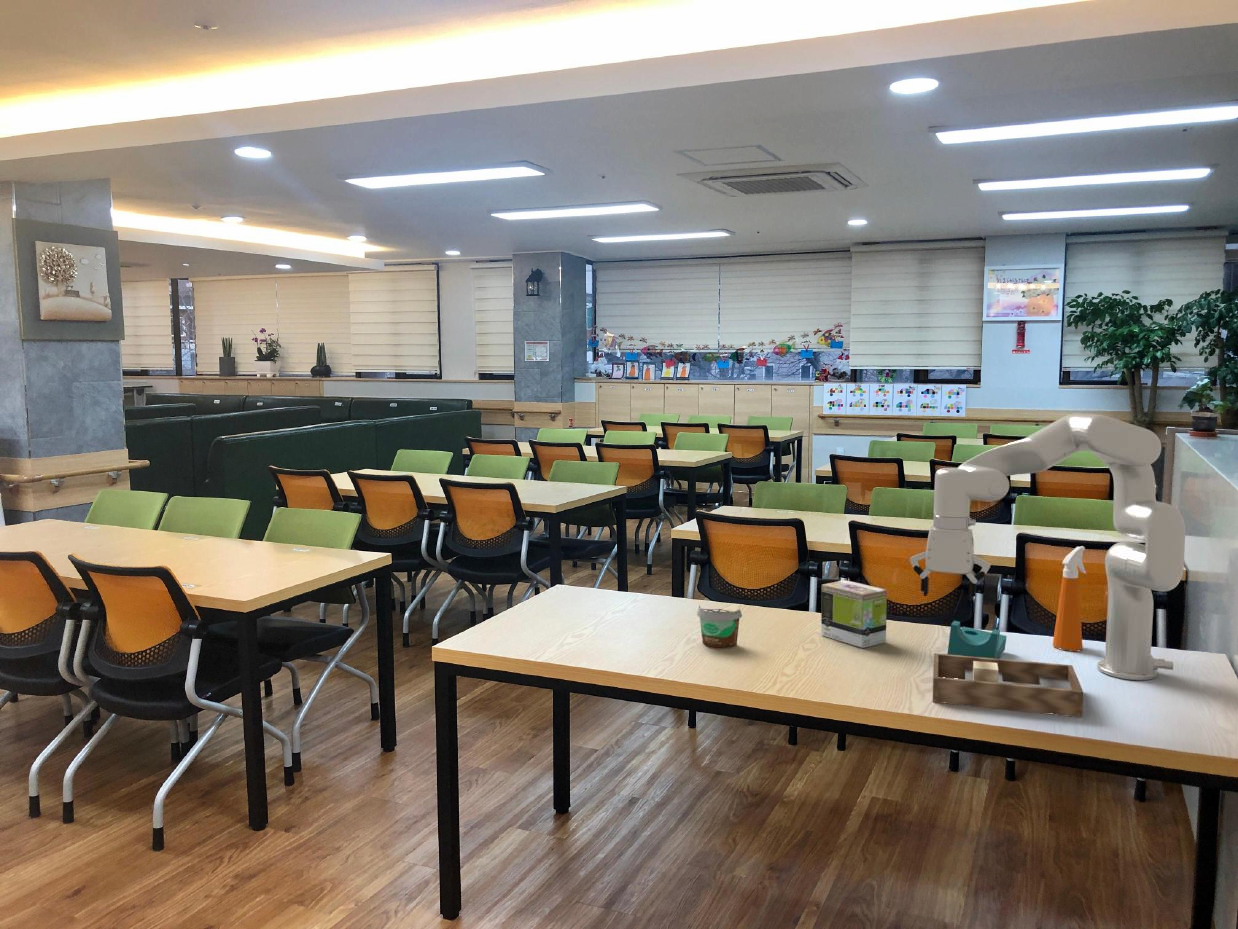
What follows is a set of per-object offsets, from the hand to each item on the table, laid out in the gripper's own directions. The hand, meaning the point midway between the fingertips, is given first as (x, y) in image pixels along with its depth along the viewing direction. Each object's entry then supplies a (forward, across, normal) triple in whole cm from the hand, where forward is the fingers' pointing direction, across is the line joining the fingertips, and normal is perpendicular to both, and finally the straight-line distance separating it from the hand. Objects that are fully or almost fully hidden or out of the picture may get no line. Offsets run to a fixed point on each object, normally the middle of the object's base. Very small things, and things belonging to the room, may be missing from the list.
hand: (947, 597), depth 209 cm
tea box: (+22, +27, -31) cm, 46 cm away
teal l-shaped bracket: (+22, -5, -26) cm, 34 cm away
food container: (+23, +59, -10) cm, 64 cm away
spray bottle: (+21, -27, -46) cm, 58 cm away
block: (+19, -9, +2) cm, 21 cm away
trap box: (+22, -12, -1) cm, 25 cm away
